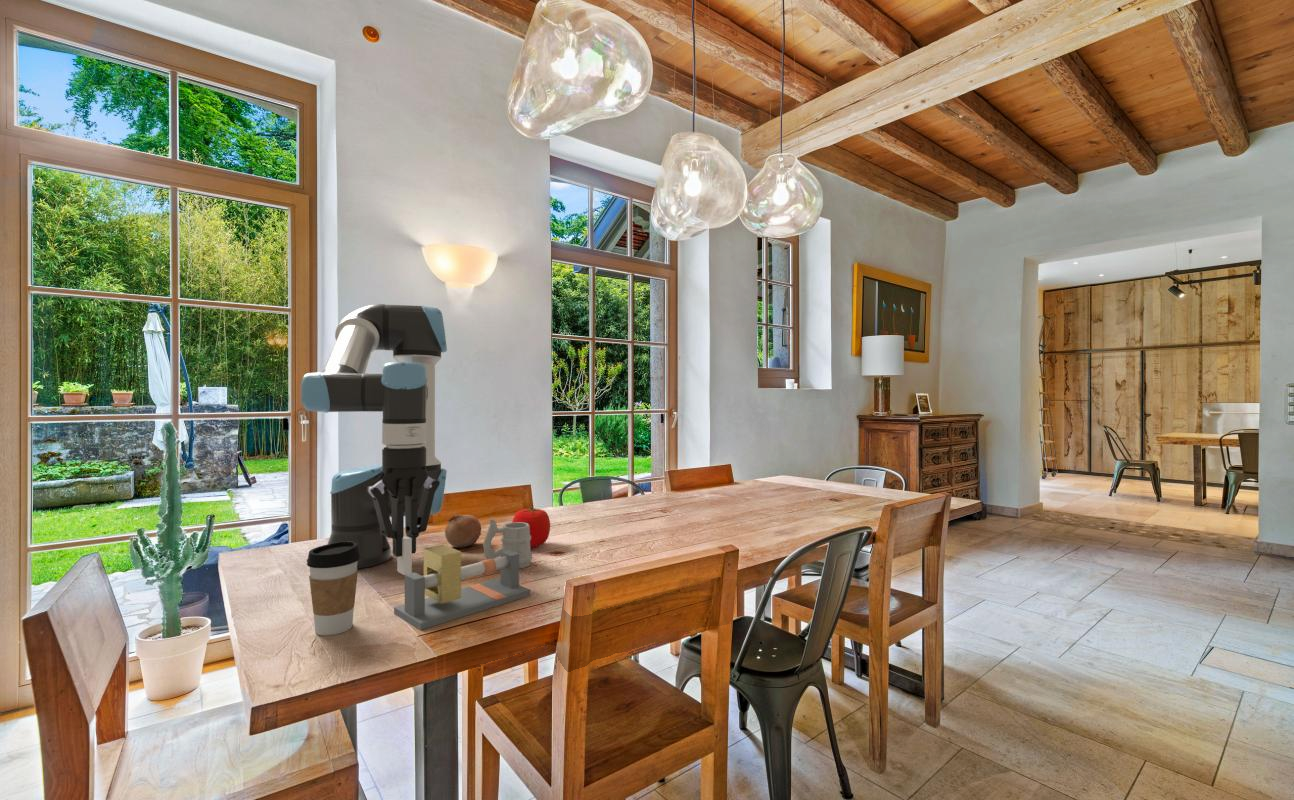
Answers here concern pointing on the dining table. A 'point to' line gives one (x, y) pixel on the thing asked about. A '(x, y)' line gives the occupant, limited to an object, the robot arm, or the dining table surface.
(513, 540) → the mug
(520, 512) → the red round fruit
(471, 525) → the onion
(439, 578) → the collar
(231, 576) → the dining table surface
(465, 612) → the rail
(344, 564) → the coffee cup
